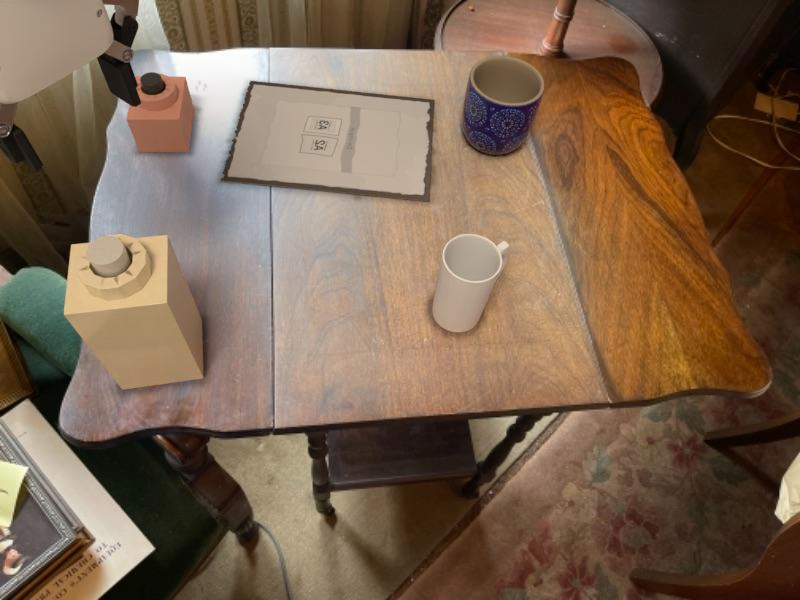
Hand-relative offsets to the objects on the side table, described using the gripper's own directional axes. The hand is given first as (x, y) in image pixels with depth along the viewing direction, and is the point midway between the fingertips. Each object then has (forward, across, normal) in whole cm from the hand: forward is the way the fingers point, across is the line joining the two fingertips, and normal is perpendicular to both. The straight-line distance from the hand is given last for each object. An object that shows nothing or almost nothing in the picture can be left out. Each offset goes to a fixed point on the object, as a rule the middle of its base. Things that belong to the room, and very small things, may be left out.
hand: (79, 128), depth 50 cm
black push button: (+22, -22, -23) cm, 39 cm away
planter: (+30, -52, +15) cm, 62 cm away
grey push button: (+11, +4, +4) cm, 12 cm away
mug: (+30, -24, +29) cm, 48 cm away
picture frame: (+30, -36, -3) cm, 47 cm away
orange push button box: (+30, -22, -23) cm, 43 cm away
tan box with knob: (+30, +4, +4) cm, 30 cm away
